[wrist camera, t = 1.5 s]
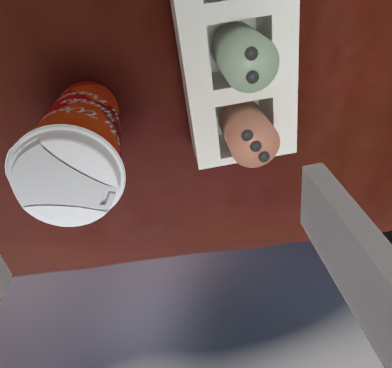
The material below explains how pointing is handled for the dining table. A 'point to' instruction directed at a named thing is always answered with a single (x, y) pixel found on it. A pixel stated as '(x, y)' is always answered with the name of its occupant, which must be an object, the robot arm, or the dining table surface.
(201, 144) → the panel
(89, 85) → the coffee cup
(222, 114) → the button three
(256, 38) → the button two
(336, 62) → the dining table surface
